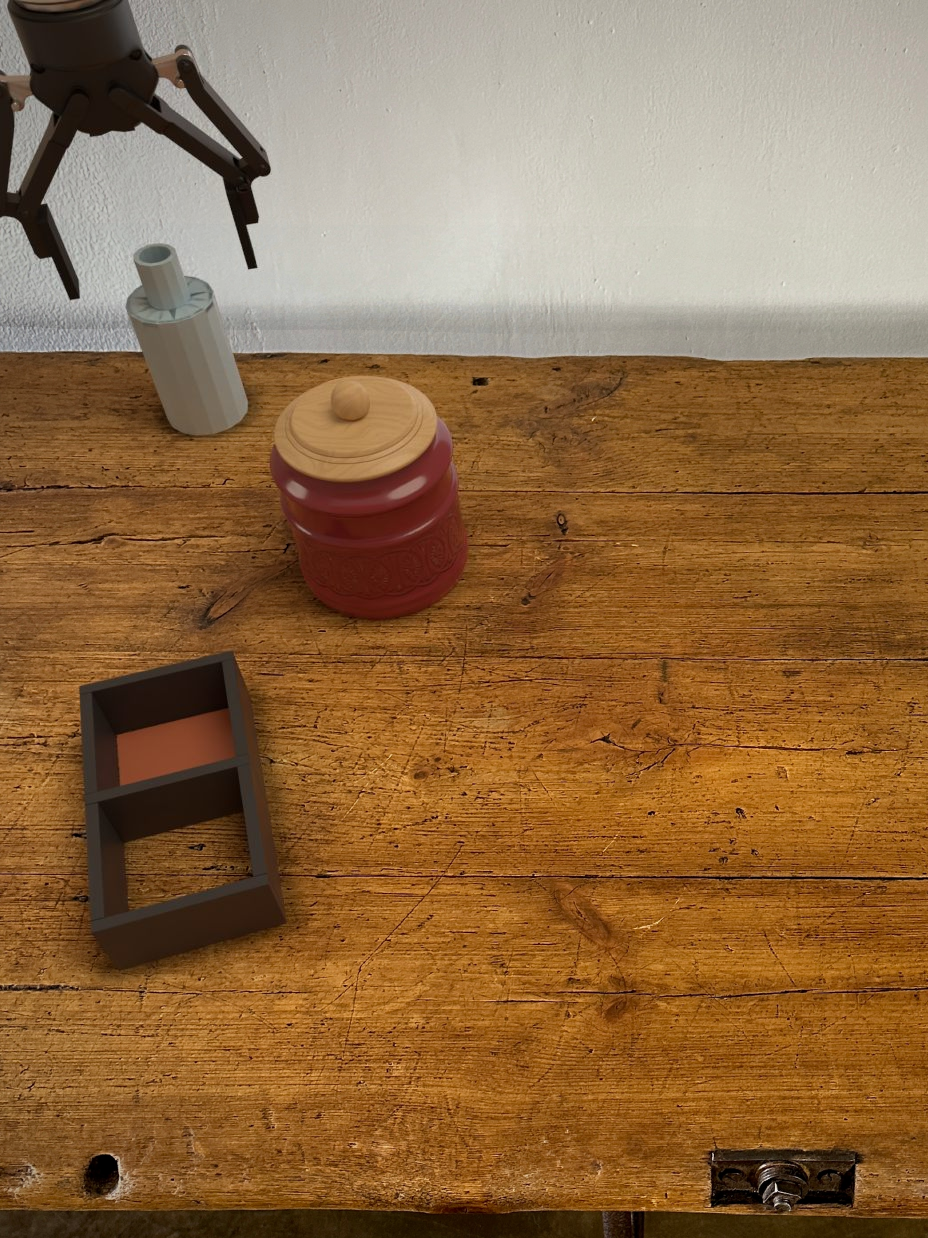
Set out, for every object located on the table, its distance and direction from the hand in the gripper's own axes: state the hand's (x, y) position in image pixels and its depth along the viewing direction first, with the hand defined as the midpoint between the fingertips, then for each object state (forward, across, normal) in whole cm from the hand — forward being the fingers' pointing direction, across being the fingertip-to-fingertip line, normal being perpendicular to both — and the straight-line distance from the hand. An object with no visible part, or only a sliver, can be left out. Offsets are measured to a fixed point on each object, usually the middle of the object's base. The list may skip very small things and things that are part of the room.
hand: (164, 275), depth 96 cm
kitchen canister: (+14, +11, -23) cm, 30 cm away
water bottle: (+14, 0, 0) cm, 14 cm away
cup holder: (+14, -6, -43) cm, 46 cm away
